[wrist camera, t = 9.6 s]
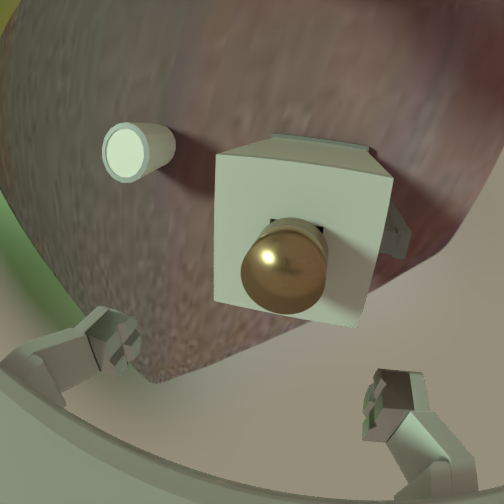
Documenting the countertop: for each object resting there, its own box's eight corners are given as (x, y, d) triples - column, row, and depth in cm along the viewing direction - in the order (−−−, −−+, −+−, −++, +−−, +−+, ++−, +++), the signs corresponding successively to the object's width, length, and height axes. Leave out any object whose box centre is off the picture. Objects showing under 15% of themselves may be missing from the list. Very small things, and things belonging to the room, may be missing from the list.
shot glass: (127, 139, 37) (92, 147, 30) (162, 108, 34) (128, 109, 28) (152, 181, 38) (120, 194, 32) (190, 152, 35) (159, 161, 29)
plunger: (278, 214, 34) (210, 323, 16) (284, 149, 31) (209, 192, 13) (343, 224, 32) (341, 349, 15) (352, 159, 29) (376, 217, 12)
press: (266, 221, 36) (208, 304, 21) (273, 133, 32) (209, 147, 16) (372, 238, 34) (393, 338, 18) (388, 149, 29) (440, 181, 13)
